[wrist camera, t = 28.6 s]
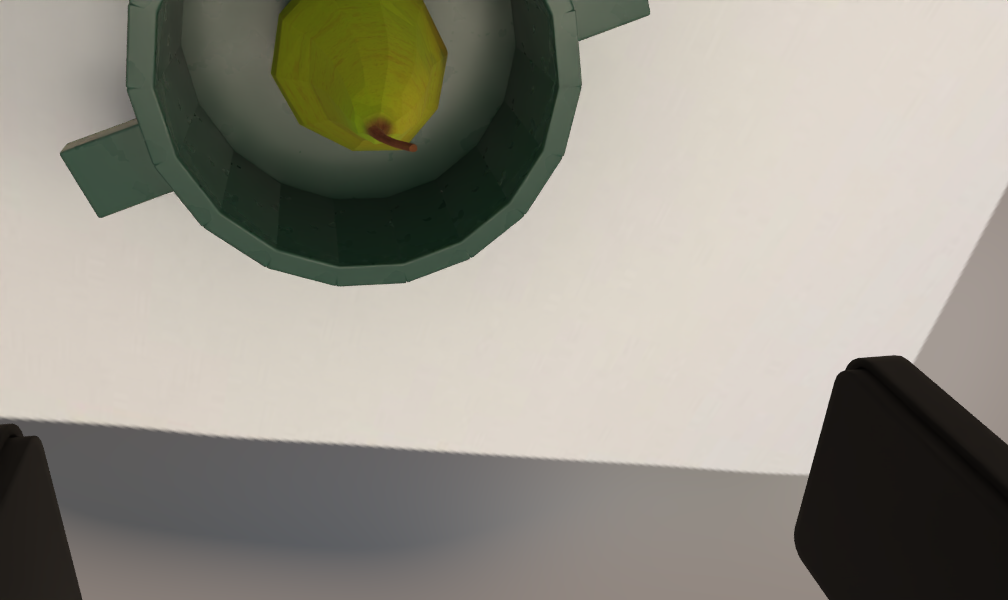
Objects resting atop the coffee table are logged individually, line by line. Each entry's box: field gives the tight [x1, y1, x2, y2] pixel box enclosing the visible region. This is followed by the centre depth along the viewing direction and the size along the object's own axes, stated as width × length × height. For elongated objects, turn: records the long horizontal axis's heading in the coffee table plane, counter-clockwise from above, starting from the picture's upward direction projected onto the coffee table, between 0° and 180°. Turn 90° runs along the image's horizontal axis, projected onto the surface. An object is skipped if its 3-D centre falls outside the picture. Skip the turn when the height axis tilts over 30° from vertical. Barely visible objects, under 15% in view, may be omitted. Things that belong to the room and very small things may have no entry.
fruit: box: [271, 0, 448, 152], centre depth 27 cm, size 6×6×12 cm
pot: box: [60, 0, 650, 286], centre depth 30 cm, size 14×19×7 cm
